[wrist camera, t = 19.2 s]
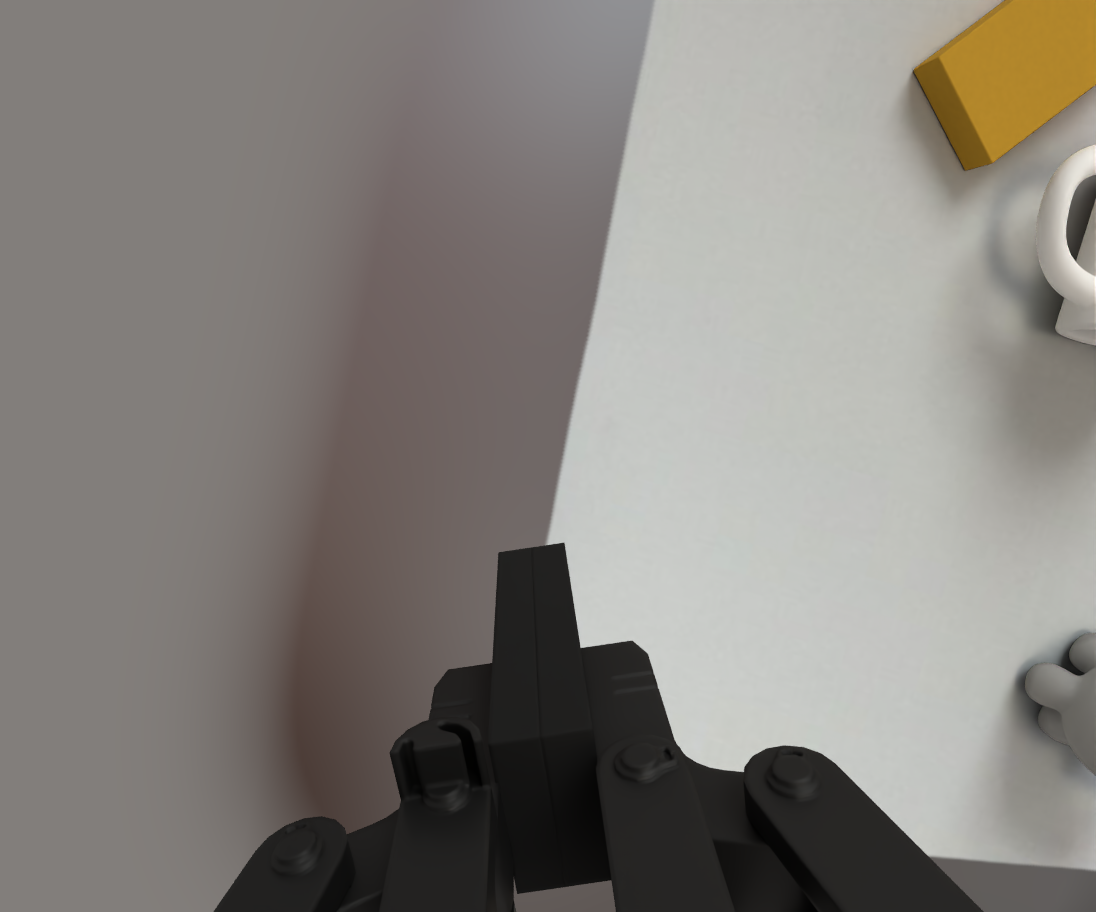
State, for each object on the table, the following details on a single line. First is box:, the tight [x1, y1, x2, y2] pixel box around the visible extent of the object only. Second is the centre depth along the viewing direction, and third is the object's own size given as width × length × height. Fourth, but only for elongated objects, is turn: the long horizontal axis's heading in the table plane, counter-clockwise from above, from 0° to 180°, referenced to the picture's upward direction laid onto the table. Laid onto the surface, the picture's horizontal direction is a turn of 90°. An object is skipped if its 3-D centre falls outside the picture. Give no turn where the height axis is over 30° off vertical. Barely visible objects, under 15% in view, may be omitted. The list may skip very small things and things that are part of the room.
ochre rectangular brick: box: [914, 0, 1096, 170], centre depth 38 cm, size 6×10×2 cm, turn 126°
